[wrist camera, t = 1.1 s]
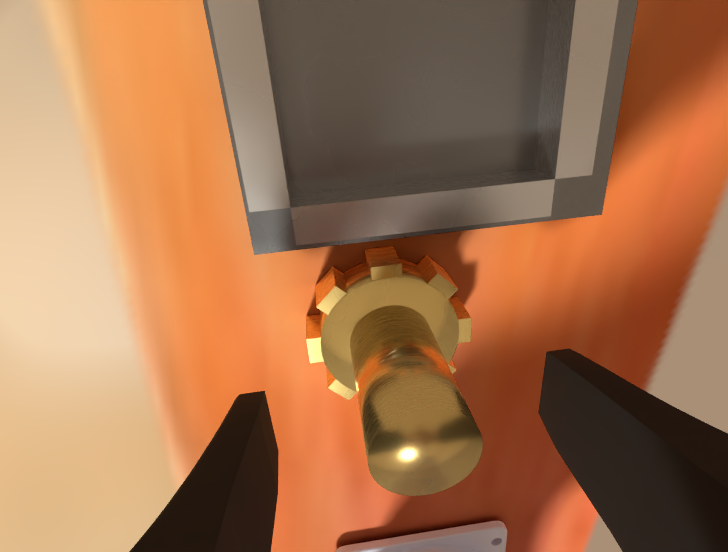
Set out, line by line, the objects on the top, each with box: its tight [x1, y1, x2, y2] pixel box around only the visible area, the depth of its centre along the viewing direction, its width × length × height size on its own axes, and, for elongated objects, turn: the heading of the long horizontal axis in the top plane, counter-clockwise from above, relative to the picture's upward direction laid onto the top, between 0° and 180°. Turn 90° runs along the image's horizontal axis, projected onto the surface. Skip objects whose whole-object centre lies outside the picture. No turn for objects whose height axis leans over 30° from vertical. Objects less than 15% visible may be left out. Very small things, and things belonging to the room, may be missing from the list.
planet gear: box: [306, 246, 483, 496], centre depth 12 cm, size 5×5×6 cm
